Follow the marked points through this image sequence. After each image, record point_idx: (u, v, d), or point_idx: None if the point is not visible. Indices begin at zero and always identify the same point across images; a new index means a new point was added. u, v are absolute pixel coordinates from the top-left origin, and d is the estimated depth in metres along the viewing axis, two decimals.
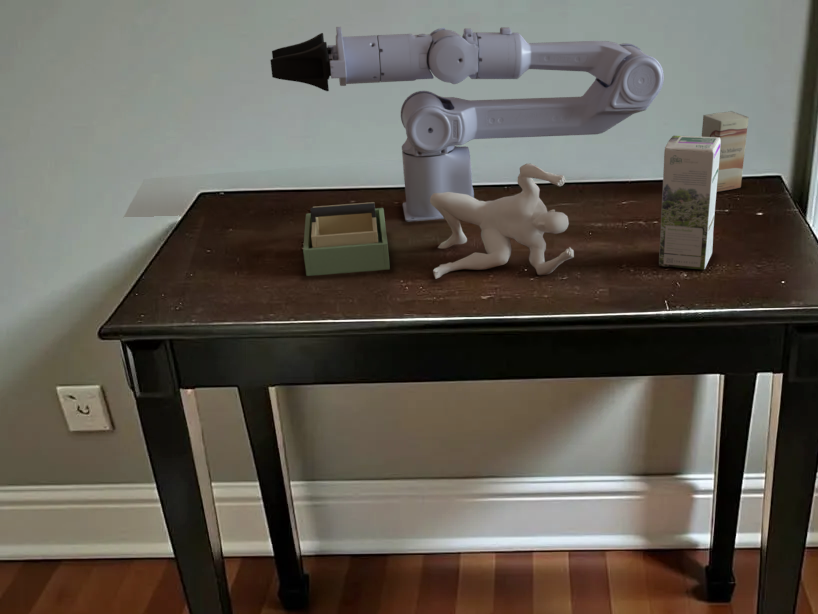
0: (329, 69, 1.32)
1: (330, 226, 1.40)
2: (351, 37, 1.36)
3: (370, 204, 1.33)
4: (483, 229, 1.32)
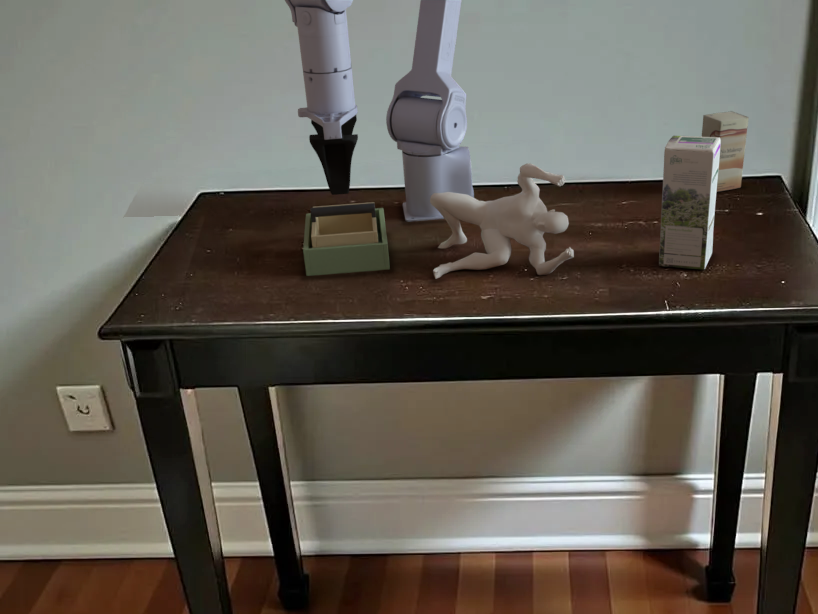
0: None
1: (330, 226, 1.40)
2: (306, 99, 1.26)
3: (370, 204, 1.33)
4: (483, 229, 1.32)
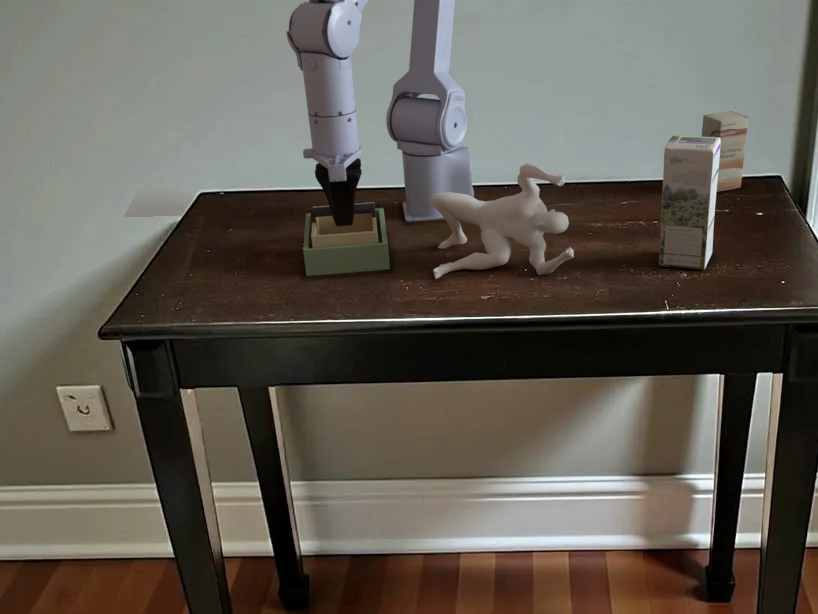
0: None
1: (330, 226, 1.40)
2: None
3: (370, 204, 1.33)
4: (483, 229, 1.32)
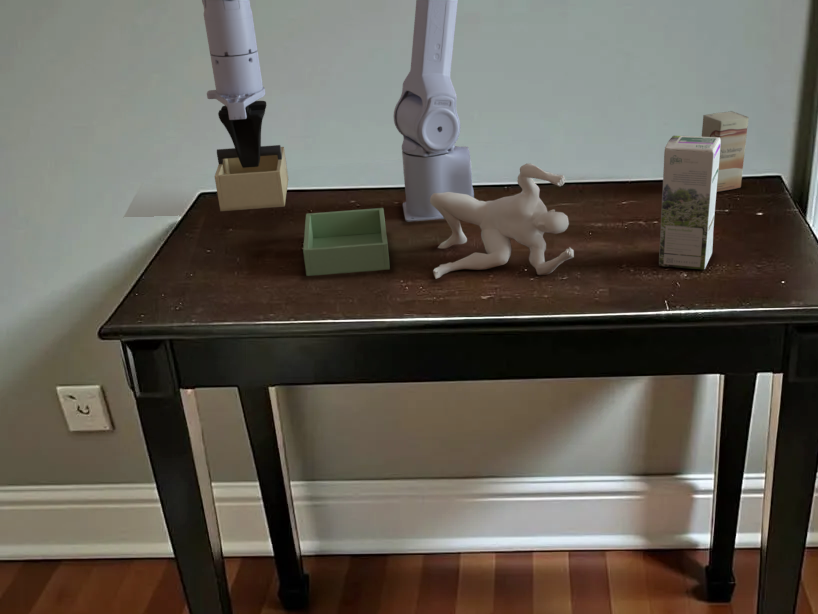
0: None
1: (241, 170, 1.42)
2: (215, 82, 1.30)
3: (276, 146, 1.35)
4: (483, 229, 1.32)
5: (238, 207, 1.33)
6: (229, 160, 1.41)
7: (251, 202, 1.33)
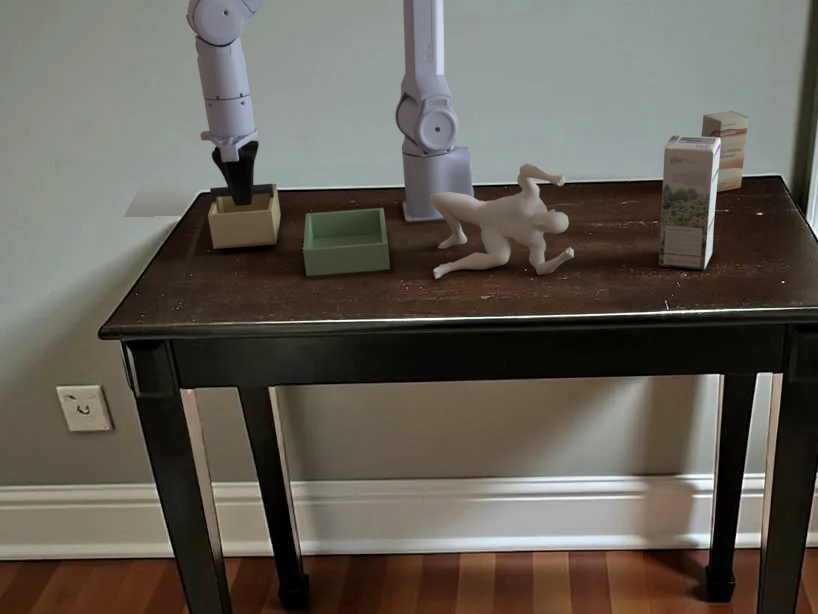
0: None
1: (234, 207, 1.46)
2: (208, 124, 1.34)
3: (268, 185, 1.39)
4: (483, 229, 1.32)
5: (231, 245, 1.37)
6: (223, 197, 1.45)
7: (243, 240, 1.37)
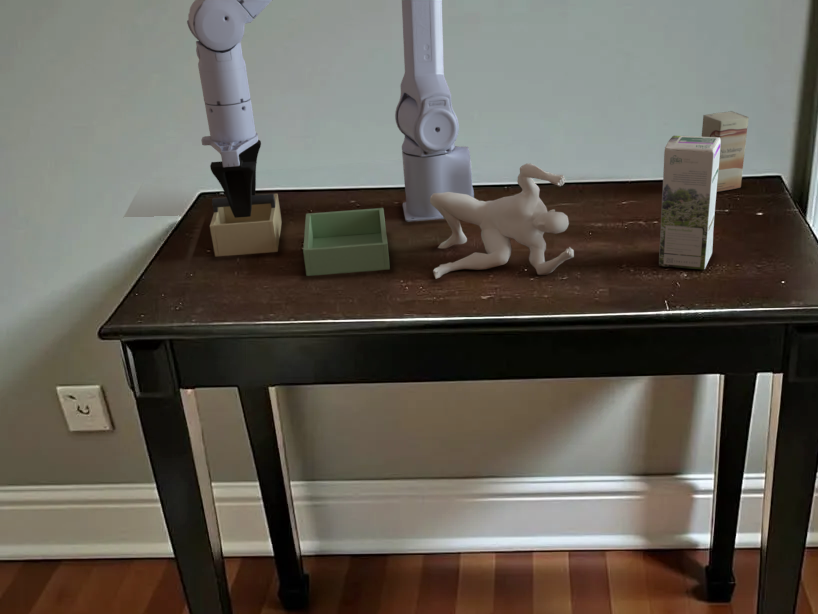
0: None
1: None
2: (209, 129, 1.34)
3: (269, 195, 1.40)
4: (483, 229, 1.32)
5: None
6: (224, 206, 1.46)
7: (245, 250, 1.37)
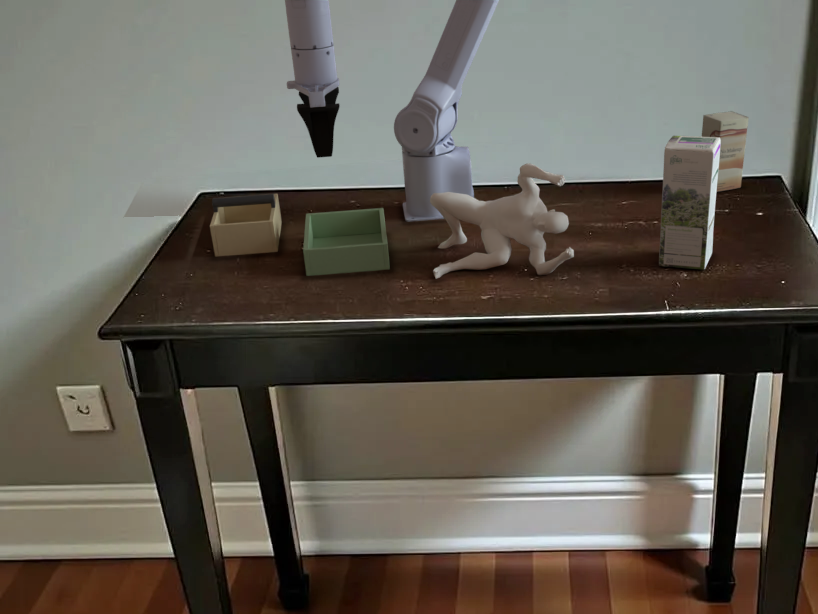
0: None
1: (236, 216, 1.47)
2: (294, 73, 1.43)
3: (269, 195, 1.40)
4: (483, 229, 1.32)
5: None
6: (224, 206, 1.46)
7: (245, 250, 1.37)
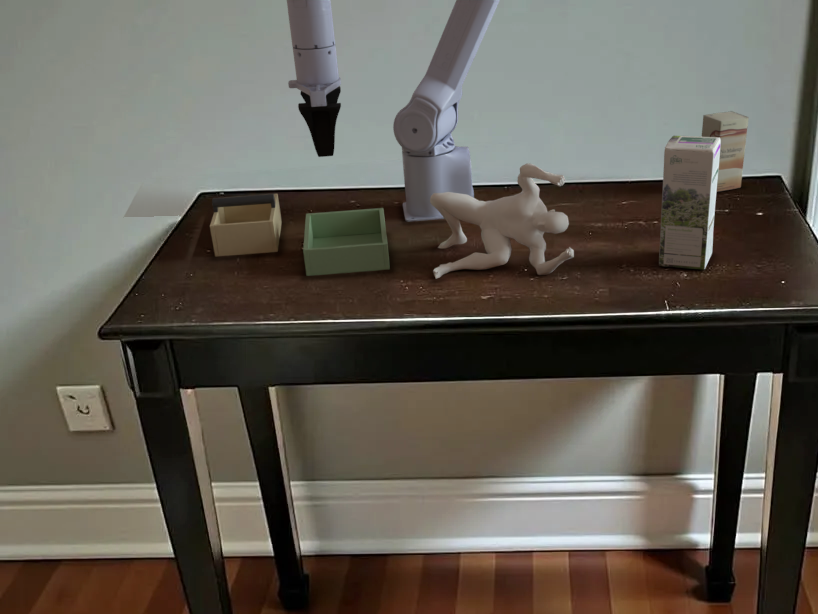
0: (319, 105, 1.40)
1: (236, 216, 1.47)
2: (296, 72, 1.43)
3: (269, 195, 1.40)
4: (483, 229, 1.32)
5: None
6: (224, 206, 1.46)
7: (245, 250, 1.37)
